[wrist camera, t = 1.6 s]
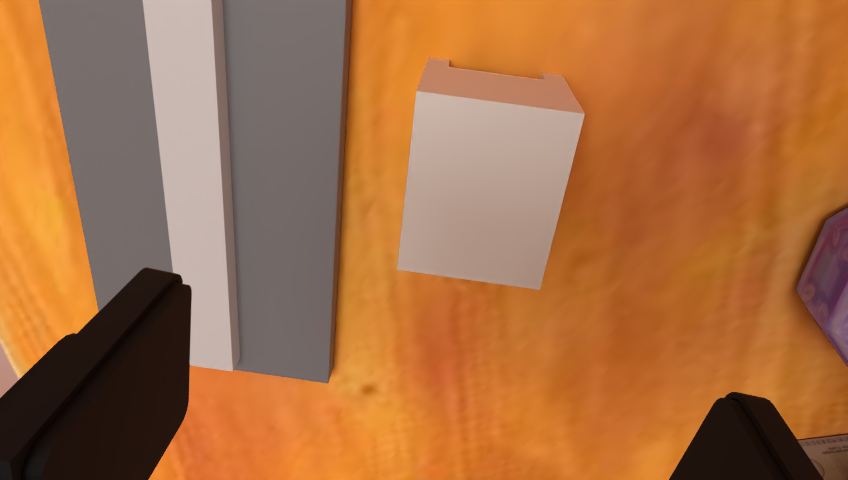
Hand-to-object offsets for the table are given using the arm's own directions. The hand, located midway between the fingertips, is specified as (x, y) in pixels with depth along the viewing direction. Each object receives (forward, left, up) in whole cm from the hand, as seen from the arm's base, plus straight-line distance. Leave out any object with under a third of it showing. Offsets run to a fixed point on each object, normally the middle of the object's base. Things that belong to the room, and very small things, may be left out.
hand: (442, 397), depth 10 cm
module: (-1, +2, -21) cm, 21 cm away
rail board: (+13, +6, -21) cm, 25 cm away
